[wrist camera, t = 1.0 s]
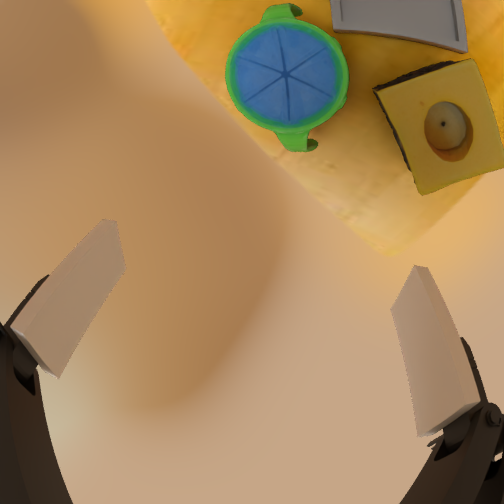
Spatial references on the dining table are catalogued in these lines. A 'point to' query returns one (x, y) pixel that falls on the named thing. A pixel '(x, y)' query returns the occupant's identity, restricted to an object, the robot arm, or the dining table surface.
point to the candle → (443, 123)
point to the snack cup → (287, 76)
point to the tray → (404, 20)
